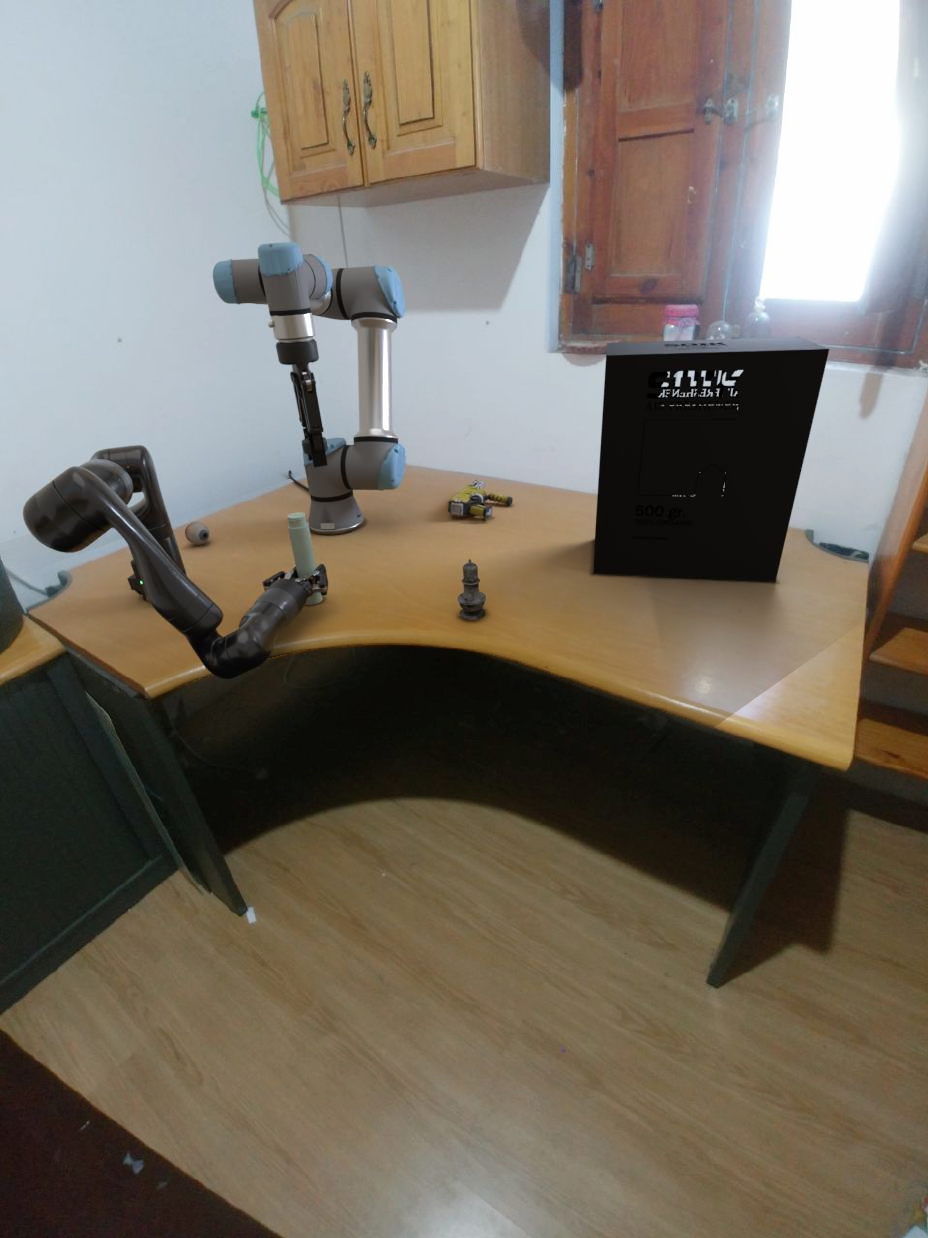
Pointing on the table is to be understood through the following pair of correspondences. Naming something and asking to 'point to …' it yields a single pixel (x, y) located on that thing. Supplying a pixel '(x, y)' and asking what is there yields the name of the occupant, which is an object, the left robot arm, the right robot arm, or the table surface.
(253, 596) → the table surface
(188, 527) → the eyeball
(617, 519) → the black angular block
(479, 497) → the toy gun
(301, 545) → the bottle
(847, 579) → the table surface
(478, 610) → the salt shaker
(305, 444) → the lid
